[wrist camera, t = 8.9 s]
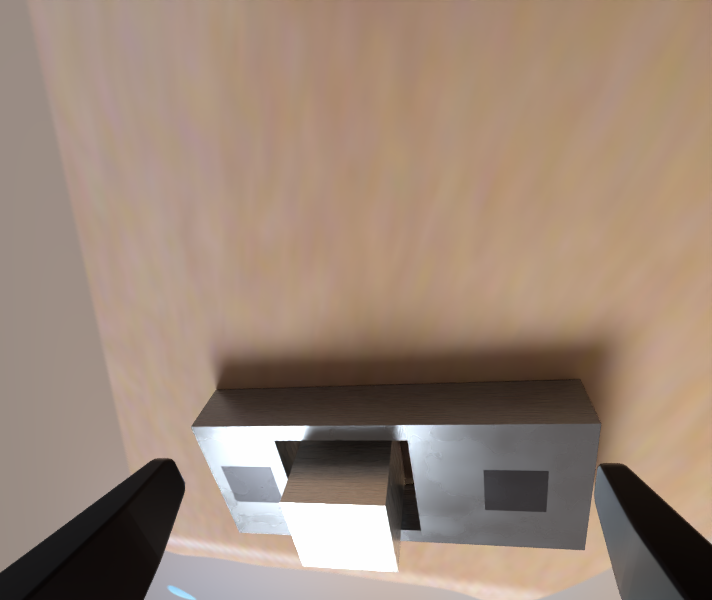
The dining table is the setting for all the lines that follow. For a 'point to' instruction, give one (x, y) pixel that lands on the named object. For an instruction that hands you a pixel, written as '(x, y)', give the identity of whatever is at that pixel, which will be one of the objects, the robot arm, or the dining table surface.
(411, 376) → the dining table surface
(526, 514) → the grey slotted board
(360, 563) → the block
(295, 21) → the dining table surface
